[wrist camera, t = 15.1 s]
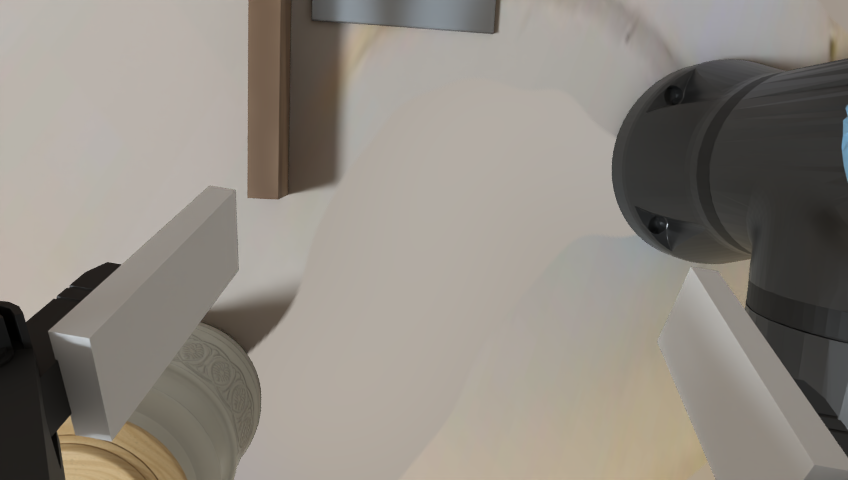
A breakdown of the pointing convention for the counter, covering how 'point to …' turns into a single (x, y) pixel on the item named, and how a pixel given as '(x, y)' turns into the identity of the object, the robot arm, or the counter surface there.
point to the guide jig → (270, 66)
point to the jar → (179, 420)
